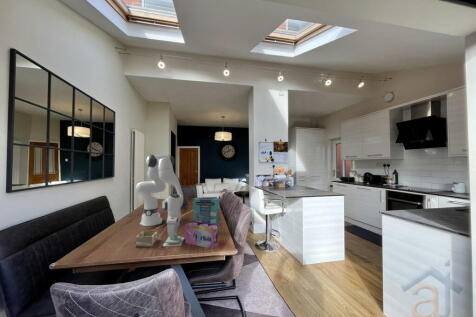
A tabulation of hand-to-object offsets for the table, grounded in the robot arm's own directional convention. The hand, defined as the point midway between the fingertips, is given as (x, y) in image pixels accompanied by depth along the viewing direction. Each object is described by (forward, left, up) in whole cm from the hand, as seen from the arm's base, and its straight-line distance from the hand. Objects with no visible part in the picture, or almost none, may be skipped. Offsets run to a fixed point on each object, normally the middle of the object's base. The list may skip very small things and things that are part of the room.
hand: (173, 237), depth 136 cm
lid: (0, 0, -2) cm, 2 cm away
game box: (-19, +21, -4) cm, 29 cm away
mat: (-1, 0, -3) cm, 4 cm away
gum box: (+4, +19, -4) cm, 20 cm away
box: (0, -18, -3) cm, 18 cm away
